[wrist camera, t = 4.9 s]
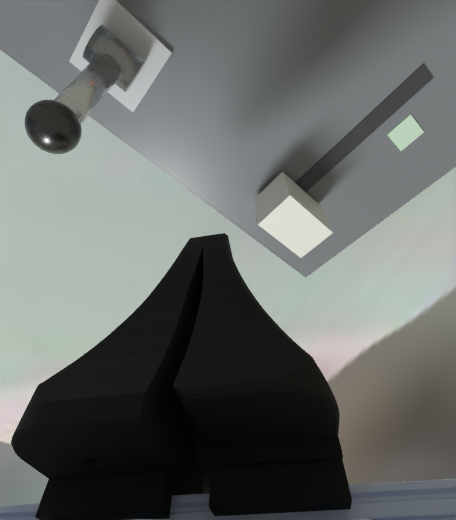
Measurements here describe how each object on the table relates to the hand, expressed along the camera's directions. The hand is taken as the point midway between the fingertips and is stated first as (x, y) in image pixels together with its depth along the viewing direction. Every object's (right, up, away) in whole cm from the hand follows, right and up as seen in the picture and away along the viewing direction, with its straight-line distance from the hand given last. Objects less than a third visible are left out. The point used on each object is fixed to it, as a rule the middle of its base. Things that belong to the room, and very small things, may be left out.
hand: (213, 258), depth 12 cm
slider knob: (+4, +3, +5) cm, 7 cm away
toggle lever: (-4, +8, +1) cm, 9 cm away
